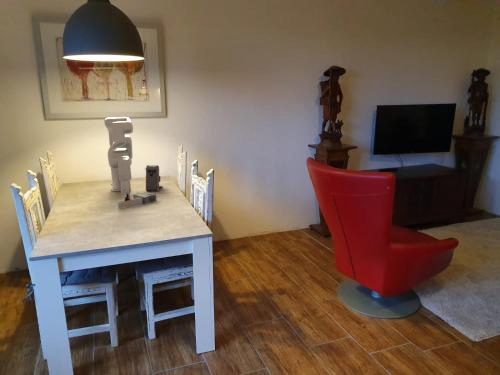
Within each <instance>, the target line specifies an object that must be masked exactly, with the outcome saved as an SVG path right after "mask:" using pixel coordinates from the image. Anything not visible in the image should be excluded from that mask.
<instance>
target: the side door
mask: <svg viewBox="0 0 500 375" xmlns="http://www.w3.org/2000/svg"><path fill="white" fill-rule="evenodd" d="M139 205H145V204H144V200H143V197H141V198H137V199H134V198H132V199H130V200H128V201H125V200H123V201H119V202H117V206H118V210H121V209H125V208H129V207H130V208H131V207H134V206H139Z"/></svg>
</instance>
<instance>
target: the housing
mask: <svg viewBox="0 0 500 375" xmlns="http://www.w3.org/2000/svg"><path fill="white" fill-rule="evenodd" d="M132 196H133V198H132V199H137V198H141V197H143V200H144V204H143V205H147V204H151V203H153V202H156V201H157V194H156V193H152V192H147V191H142V192H138V193H135V194H133V195H132Z"/></svg>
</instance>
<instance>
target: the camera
mask: <svg viewBox="0 0 500 375" xmlns="http://www.w3.org/2000/svg"><path fill="white" fill-rule="evenodd" d="M160 183H161V176H160V166H159V165H158V164H157V165H155V164H154V165H152V164H151V165H146V167H145V192H149V193H152V192H154V193H155V192H157V193H158V192H159V190H160V188H163V186H162V185H161V186H160Z"/></svg>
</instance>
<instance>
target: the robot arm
mask: <svg viewBox="0 0 500 375" xmlns="http://www.w3.org/2000/svg"><path fill="white" fill-rule="evenodd" d="M103 123H104V127H106V130H107V132H108V140H109V146H110V147H109V148H108V150H107V160H108V165H109V168H110V172H111V173H110V174H111V183H110V186H111V188H110V191H112V192H120V194H121V195H120V196H123V197H124V201H128V200H131V195H130V194H131V192H132V189H131V188H132V187H131V186H132V185H131V180H132V170H131V169H132V168H131V166H132V159H133V140H132V137H131V136H130V134H132V133H133V132H134V125H133V123H132V120H131V119H130V117H128V116H127V117H126V116H122V117H121V116H119V117H115V116H114V117H106V118H105V119H104V121H103ZM128 134H129V135H128Z"/></svg>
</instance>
